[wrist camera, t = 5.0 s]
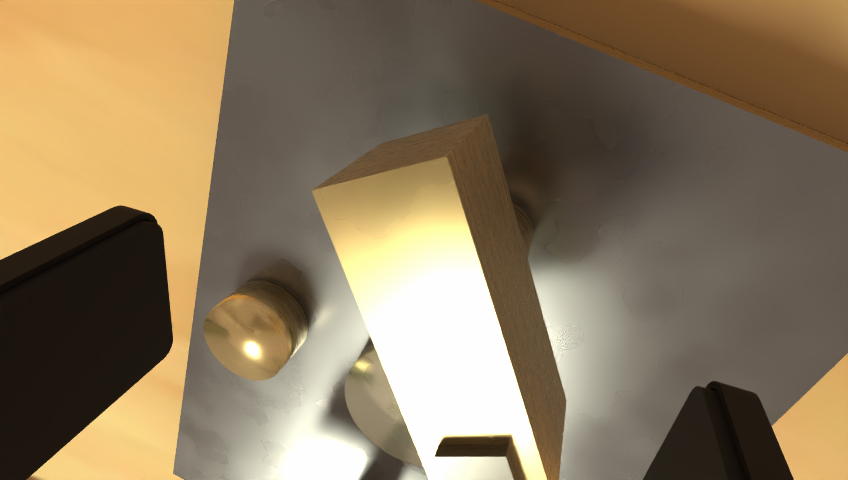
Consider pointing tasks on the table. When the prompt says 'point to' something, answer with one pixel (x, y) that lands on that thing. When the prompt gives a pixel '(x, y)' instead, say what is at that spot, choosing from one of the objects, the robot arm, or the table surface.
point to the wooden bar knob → (451, 301)
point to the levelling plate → (550, 250)
